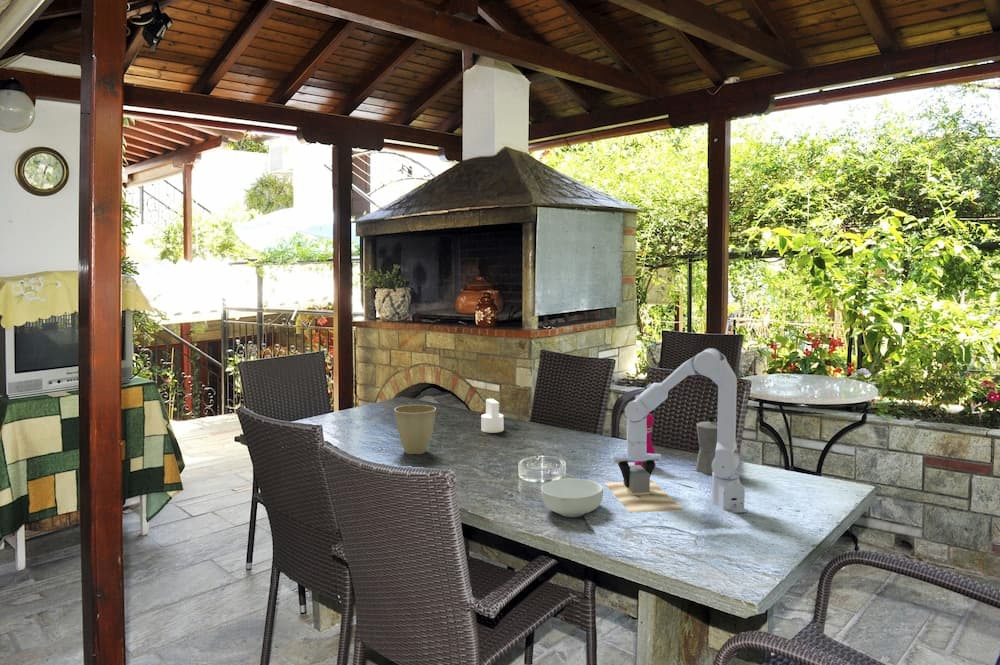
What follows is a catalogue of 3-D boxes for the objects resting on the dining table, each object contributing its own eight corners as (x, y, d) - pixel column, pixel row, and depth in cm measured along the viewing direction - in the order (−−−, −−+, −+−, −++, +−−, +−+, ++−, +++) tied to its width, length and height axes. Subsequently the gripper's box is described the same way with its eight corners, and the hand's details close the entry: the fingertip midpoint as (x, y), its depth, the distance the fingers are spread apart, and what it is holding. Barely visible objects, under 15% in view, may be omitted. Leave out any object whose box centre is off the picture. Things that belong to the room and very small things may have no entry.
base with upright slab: (478, 428, 292) (478, 399, 291) (499, 426, 295) (499, 398, 294) (484, 433, 284) (484, 403, 283) (506, 431, 287) (506, 402, 285)
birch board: (683, 514, 193) (683, 509, 193) (629, 516, 191) (629, 512, 191) (651, 484, 218) (651, 480, 218) (604, 486, 217) (604, 482, 216)
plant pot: (416, 460, 247) (415, 414, 245) (386, 453, 256) (385, 409, 254) (445, 450, 259) (444, 407, 257) (415, 444, 268) (414, 402, 266)
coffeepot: (686, 465, 237) (687, 412, 235) (712, 463, 240) (713, 411, 238) (711, 479, 222) (712, 423, 221) (738, 477, 225) (739, 421, 223)
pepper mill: (639, 470, 232) (639, 410, 230) (629, 464, 239) (629, 406, 237) (659, 469, 234) (660, 409, 232) (648, 463, 241) (649, 404, 239)
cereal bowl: (564, 497, 207) (564, 474, 206) (614, 510, 196) (614, 485, 196) (528, 514, 194) (528, 488, 193) (580, 528, 183) (580, 501, 183)
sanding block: (649, 494, 205) (649, 473, 205) (632, 495, 205) (632, 474, 204) (639, 484, 214) (639, 465, 213) (623, 485, 213) (623, 465, 213)
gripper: (655, 436, 213) (655, 480, 214) (608, 438, 211) (608, 482, 212) (664, 442, 206) (663, 488, 207) (615, 444, 204) (615, 490, 206)
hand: (636, 486), depth 209 cm, fingers closed on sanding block, 5 cm apart
